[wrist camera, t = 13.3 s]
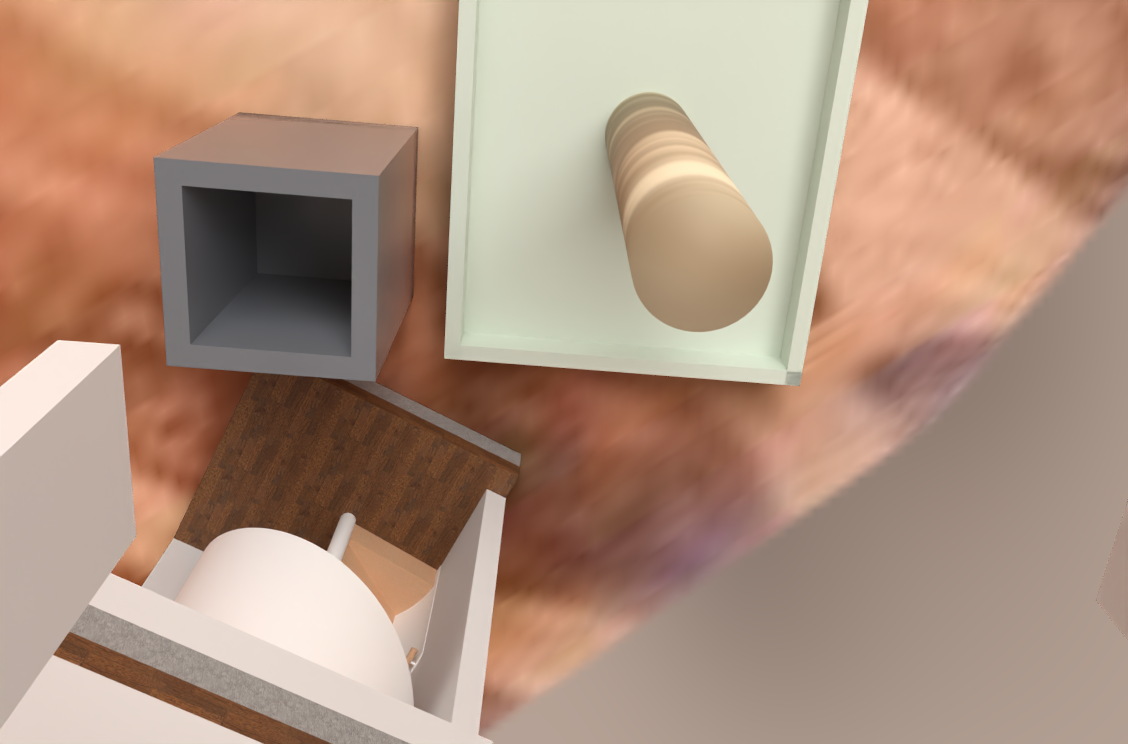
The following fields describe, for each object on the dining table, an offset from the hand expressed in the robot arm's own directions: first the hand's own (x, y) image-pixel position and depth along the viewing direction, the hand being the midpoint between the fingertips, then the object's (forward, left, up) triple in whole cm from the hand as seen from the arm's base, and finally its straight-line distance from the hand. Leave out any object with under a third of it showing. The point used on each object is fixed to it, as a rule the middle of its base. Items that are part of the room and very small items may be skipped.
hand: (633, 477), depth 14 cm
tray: (0, +2, -29) cm, 29 cm away
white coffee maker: (+17, -9, -29) cm, 35 cm away
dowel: (0, +2, -28) cm, 28 cm away
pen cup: (+4, -10, -29) cm, 31 cm away
